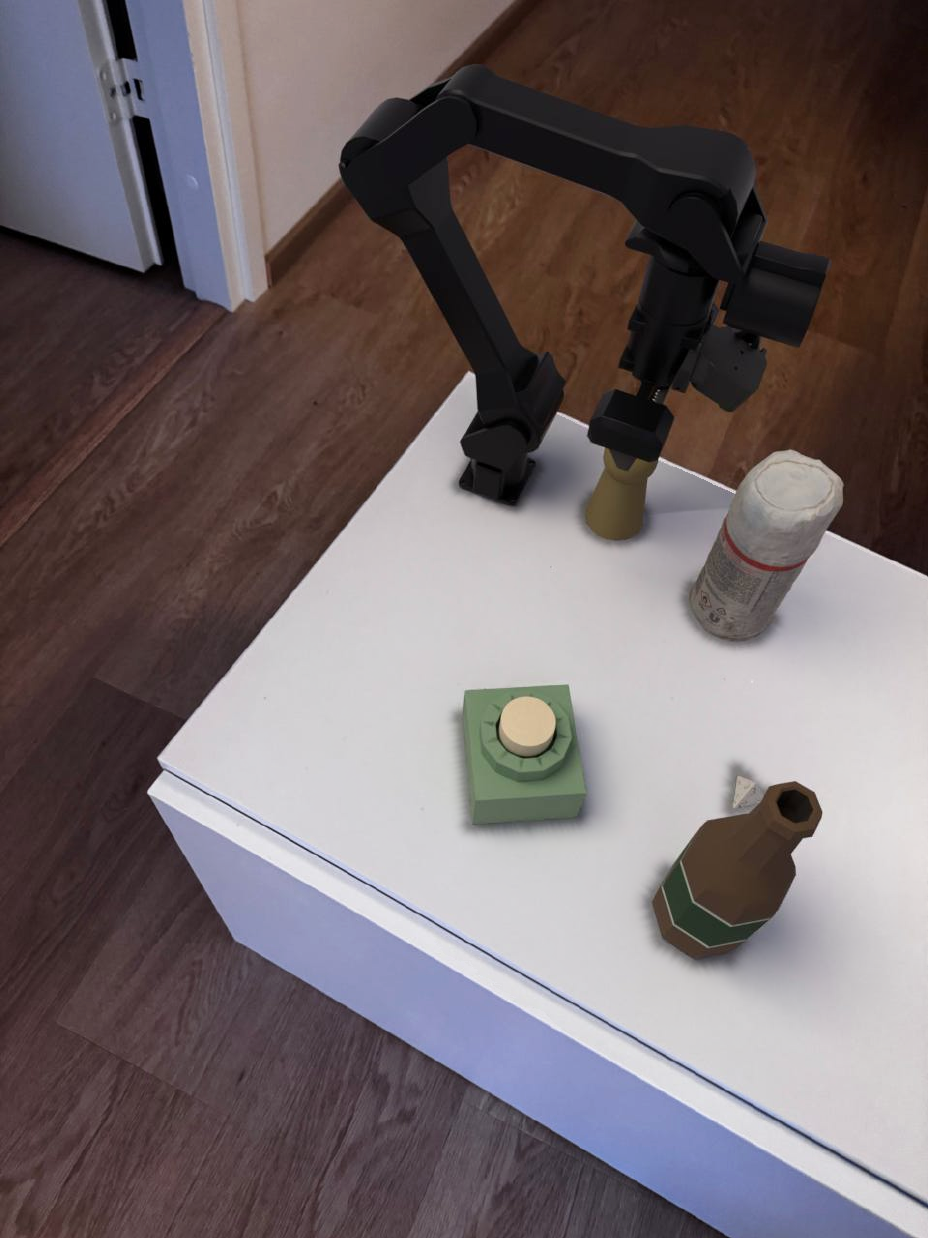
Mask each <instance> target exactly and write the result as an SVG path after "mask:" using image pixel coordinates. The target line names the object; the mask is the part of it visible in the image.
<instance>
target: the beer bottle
mask: <svg viewBox="0 0 928 1238" xmlns="http://www.w3.org/2000/svg"><path fill="white" fill-rule="evenodd" d="M763 795H764V796H763V798H762V800H761V802H760V803H757V805H756V806H755V807H754V808H752V809H751V811H749V812H748V813H742V814H736V815H729V816H724V817H719V818H712V819H707V820H706V821H705V822H704V823H703V824H702V825H701V826H700V827H699V828H698V830H696V831H695V833H694V834H693V836H692V838H691V839H690V840H689V842H688V843H687V844H686V845H685V847H684V849H682V851H681V853H680V854H679V855H678V856H677V858H676V860H675V861H674V862H673V864H672V865H671V866H670V868H669V870H668V872H667V874H666V875H665V877H664V879H663V881H662V882H661V884H660V887H659V888H658V890H657V891H656V893H655V895H654V897H653V898H652V900H651V904H652V908H653V911H654V915H655V918H656V923H657V925H658V928H659V929H658V930H659V933H660V935H661V938H662V939H663V940H664V941H666V942H667V943H669V944H671V945H672V946H674V947H675V948H677V949H678V950H680V951H681V952H683V953H684V954H686V955H688V957H690V958H691V959H694V960H698V959H703V958H708V957H715V956H719V955H723V954H728V953H731V952H733V951H734V950H736V949H737V948H739V947H741V945H742V944H743V943H745V942H746V941H747V940H748V939H749V938H750V937H751V936H753V935H754V934H755V933H756V932H758V931H759V930H760V929H761V928H762V927H763V926H765V925H766V924H767V923H768V922H769V921H770V920H772V919H773V918H774V917H775V915H776V914H777V912H778V911H779V910H780V908H781V907H782V904H783V902H784V901H785V898H786V896H787V895H788V893H789V891H790V888H791V886H792V884H793V882H794V880H795V878H796V876H797V869H796V867H797V866H796V863H795V861H794V859H793V855H792V854H793V853H794V851H795V850H796V849H797V847H798V846H799V845H800V844H801V842H802V841H803V840H804V839H809V838H812V837H814V834H815V832H816V830H817V828H818V826H819V824H820V822H821V820H822V818H823V810H822V806H821V804H820V802H819V799H818V797H817V794H816V792H815V791H813V790H811V789H810V788H808V787H807V786H805V785H803V784H801V783H800V782H798V781H797V780H793V781H788V782H787V781H786V782H781V783H777V784H772V785H769V786H768V788H767V789H766V791H765V793H764V794H763Z"/></svg>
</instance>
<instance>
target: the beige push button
mask: <svg viewBox="0 0 928 1238" xmlns="http://www.w3.org/2000/svg"><path fill="white" fill-rule="evenodd" d="M555 726H556V719H555V716H554V713H553V711H552V709H551V708H550V707H549V706H548V705H547V704H546V703H545V702H543V701H542V700H540V699H537V698H534V697H519V698H516V699H514V700H512V701H511V702H509V703H508V704H507V705H506V706H505V708H504V709H503V712H502V714H501V719H500V725H499V736H500V739H501V741H502V743H503V745H504V746H505V747H506V748H507V749H508V750H509V751H511V752H512V753H514V754H516V755H519V756H525V757H529V756H535V755H538V754H540V753H542V752H543V751H545V750H546V749H547V748H548V746H549V745H550V743H551V741H552V738H553V734H554V731H555Z"/></svg>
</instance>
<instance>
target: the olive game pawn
mask: <svg viewBox="0 0 928 1238" xmlns="http://www.w3.org/2000/svg"><path fill="white" fill-rule="evenodd" d="M602 460H603V465H604V469H603V471H602V472H601V475H600V477H599V480H598V482H597V483H596V486H595V487H594V490H593V492H592V494H591V497H590V499H589V501H588V503H587V505H586V507H585V511H584V519H585V522H586V525H587V526H588V527H589V529H590V530H591V531H592V532H593V533H594V534H595V535H597V536H598V537H601V538H603V539H606V540H611V541H625V540H628V539H630V538H634V536H636V535H637V534H638V533H639V532H640V530H641V529H642V527H643V522H644V513H645V504H646V495H647V487H648V479H649V478H650V477H651V476H652V475H653V474H654V473H655V471H656V469H657V467H658V464H659V459H658V460H657V461H653V462H650V463H649V462H646V461H643V460H640V459H636V461H635V462H634V464H633V465H632V466H631V468H630V469H629V471H624V470H621V469H618V468H617V467H616V465H615V463H614V460H613V458H612V456H611V454H610V451H609V449H608V448H605V447H604V451H603V457H602Z"/></svg>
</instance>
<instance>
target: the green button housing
mask: <svg viewBox="0 0 928 1238" xmlns="http://www.w3.org/2000/svg"><path fill="white" fill-rule="evenodd" d="M519 697H534V698H537V699H540V700H542V701H543V702H545V703H546V704H547V705H548V706H549V707H550V708H551V709H552V711H553V713H554V716H555V719H556V726H555V731H554V734H553V738H552V741H551V743H550V745H549V746H548V748H547V749H546V750H545V751H543V752H542V753H540V754H538V755H535V756H529V757H525V756H519V755H516V754H514V753H512V752H511V751H509V750H508V749H507V748H506V747H505V746H504V745H503V743H502V741H501V739H500V736H499V725H500V719H501V714H502V712H503V709H504V708H505V706H506V705H507V704H508V703H509V702H511V701H512V700H514V699H516V698H519ZM461 713H462V714H461V725H462V734H463V745H464V746H463V747H464V755H465V756H464V757H465V765H466V766H465V767H466V776H467V788H468V797H469V808H470V817H471V818H470V819H471V825H488V824H490V825H491V824H502V823H503V824H504V823H516V822H517V823H518V822H531V821H546V820H561V819H575V818H577V817H578V816H579V813H580V810H581V808H582V805H583V802H584V800H585V798H586V795H587V789H586V782H585V776H584V770H583V764H582V758H581V757H582V756H581V751H580V745H579V740H578V733H577V727H576V719H575V715H574V709H573V703H572V696H571V690H570V685H569V684H550V685H533V686H515V687H514V686H513V687H497V688H482V689H481V688H480V689H479V688H478V689H465V690H464V693H463V704H462V712H461Z"/></svg>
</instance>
